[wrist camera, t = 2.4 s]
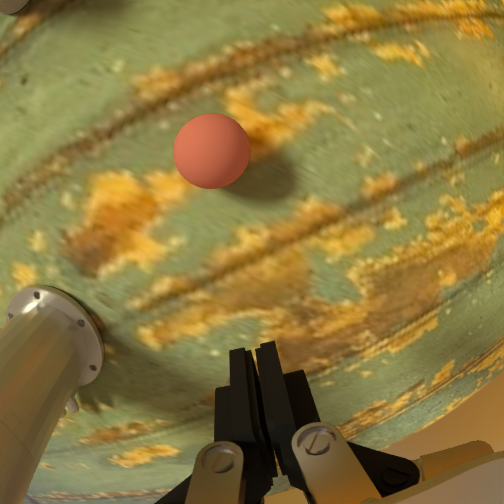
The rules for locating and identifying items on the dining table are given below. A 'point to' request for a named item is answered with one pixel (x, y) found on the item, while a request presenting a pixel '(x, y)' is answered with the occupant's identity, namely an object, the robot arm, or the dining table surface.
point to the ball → (211, 151)
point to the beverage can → (12, 6)
